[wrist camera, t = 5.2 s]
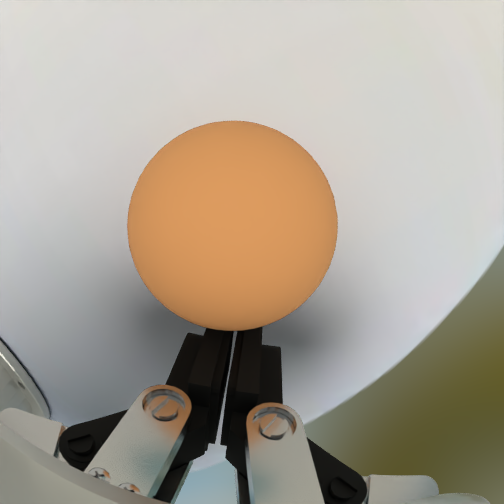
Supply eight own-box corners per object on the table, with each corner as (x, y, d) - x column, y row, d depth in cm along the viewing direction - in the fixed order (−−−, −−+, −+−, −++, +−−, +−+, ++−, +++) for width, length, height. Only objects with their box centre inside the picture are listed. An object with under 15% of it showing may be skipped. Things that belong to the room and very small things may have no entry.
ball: (295, 384, 7) (396, 232, 3) (116, 331, 7) (55, 163, 4) (310, 254, 11) (353, 124, 7) (181, 224, 11) (182, 93, 8)
